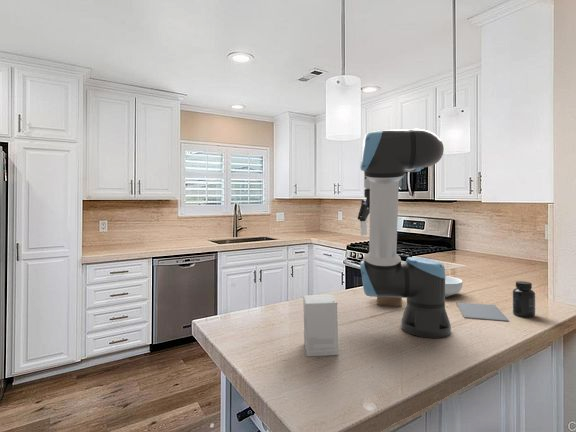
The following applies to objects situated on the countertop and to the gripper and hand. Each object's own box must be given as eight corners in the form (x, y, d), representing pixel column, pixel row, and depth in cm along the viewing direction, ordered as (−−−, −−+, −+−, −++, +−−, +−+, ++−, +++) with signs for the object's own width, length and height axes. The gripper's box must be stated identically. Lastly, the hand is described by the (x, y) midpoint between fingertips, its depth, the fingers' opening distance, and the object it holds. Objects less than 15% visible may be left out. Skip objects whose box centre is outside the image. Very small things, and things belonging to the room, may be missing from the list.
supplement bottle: (530, 312, 126) (531, 280, 126) (538, 318, 120) (539, 285, 119) (509, 311, 128) (509, 279, 128) (516, 317, 122) (516, 284, 121)
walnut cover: (401, 306, 136) (401, 281, 136) (377, 304, 139) (376, 279, 139) (401, 299, 145) (401, 275, 145) (378, 298, 148) (378, 274, 148)
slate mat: (509, 321, 118) (509, 320, 118) (464, 317, 122) (464, 316, 122) (495, 306, 135) (495, 305, 135) (456, 303, 139) (456, 302, 139)
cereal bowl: (451, 302, 141) (451, 285, 141) (414, 294, 154) (414, 278, 153) (469, 294, 152) (469, 278, 151) (433, 287, 165) (433, 273, 164)
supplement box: (333, 342, 103) (332, 293, 103) (338, 355, 94) (338, 302, 94) (303, 343, 103) (302, 294, 102) (306, 356, 94) (305, 303, 93)
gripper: (399, 186, 141) (399, 237, 141) (362, 190, 164) (363, 234, 164) (384, 186, 138) (385, 238, 138) (349, 189, 161) (350, 234, 161)
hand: (373, 236), depth 151 cm, fingers open, 13 cm apart
